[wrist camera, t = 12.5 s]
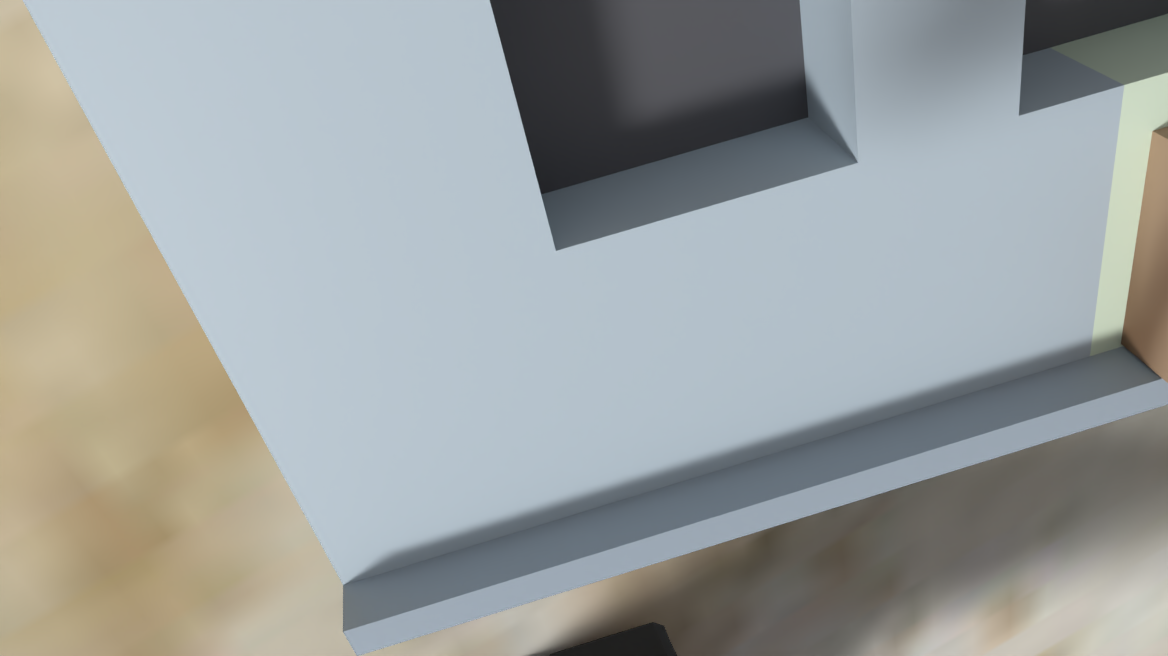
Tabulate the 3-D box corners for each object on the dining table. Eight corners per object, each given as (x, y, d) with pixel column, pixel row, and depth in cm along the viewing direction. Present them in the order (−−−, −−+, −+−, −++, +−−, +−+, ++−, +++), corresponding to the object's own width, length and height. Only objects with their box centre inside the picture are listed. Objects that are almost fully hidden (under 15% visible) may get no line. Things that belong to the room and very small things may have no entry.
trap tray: (1272, 249, 23) (1407, 329, 20) (355, 528, 22) (356, 655, 19) (1437, -412, 16) (1687, -437, 13) (65, -43, 15) (-6, 23, 12)
